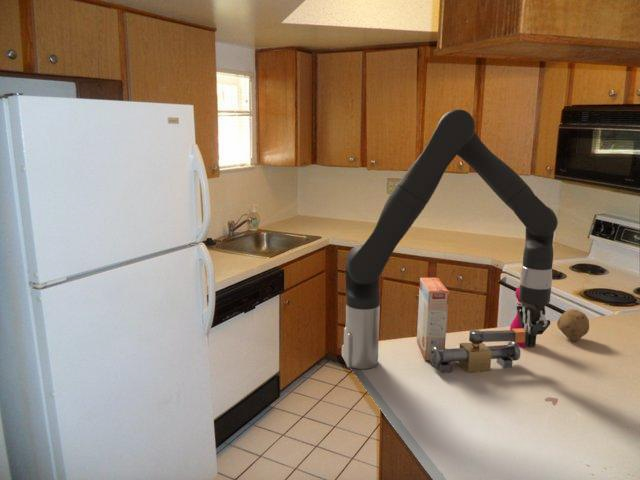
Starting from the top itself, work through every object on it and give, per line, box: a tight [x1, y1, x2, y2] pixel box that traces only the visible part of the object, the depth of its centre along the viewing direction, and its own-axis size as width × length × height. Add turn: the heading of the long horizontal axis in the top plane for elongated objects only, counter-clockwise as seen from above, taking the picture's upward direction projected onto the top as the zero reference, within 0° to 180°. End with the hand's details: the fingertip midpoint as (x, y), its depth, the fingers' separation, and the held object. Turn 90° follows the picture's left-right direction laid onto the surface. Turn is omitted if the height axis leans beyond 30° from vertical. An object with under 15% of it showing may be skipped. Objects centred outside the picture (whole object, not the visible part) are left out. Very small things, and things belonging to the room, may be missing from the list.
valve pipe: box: [430, 341, 521, 374], centre depth 140 cm, size 24×6×7 cm, turn 100°
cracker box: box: [416, 277, 450, 361], centre depth 149 cm, size 14×6×21 cm, turn 179°
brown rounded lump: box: [556, 308, 590, 342], centre depth 159 cm, size 9×9×10 cm
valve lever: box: [468, 328, 526, 343], centre depth 139 cm, size 16×4×3 cm, turn 94°
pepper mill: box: [509, 286, 528, 348], centre depth 155 cm, size 7×7×20 cm
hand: (529, 346), depth 135 cm, fingers closed
